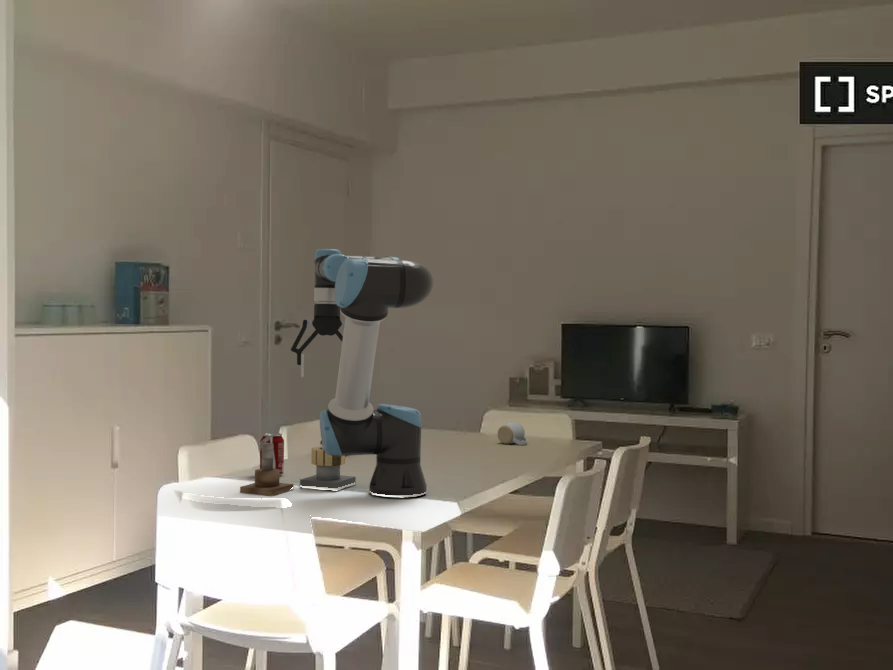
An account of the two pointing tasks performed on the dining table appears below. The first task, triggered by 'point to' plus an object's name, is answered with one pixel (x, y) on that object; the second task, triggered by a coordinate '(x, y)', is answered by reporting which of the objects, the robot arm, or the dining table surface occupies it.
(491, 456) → the dining table surface
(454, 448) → the dining table surface
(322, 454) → the collar
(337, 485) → the hub
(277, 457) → the soda can
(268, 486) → the stand
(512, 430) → the ceramic mug
